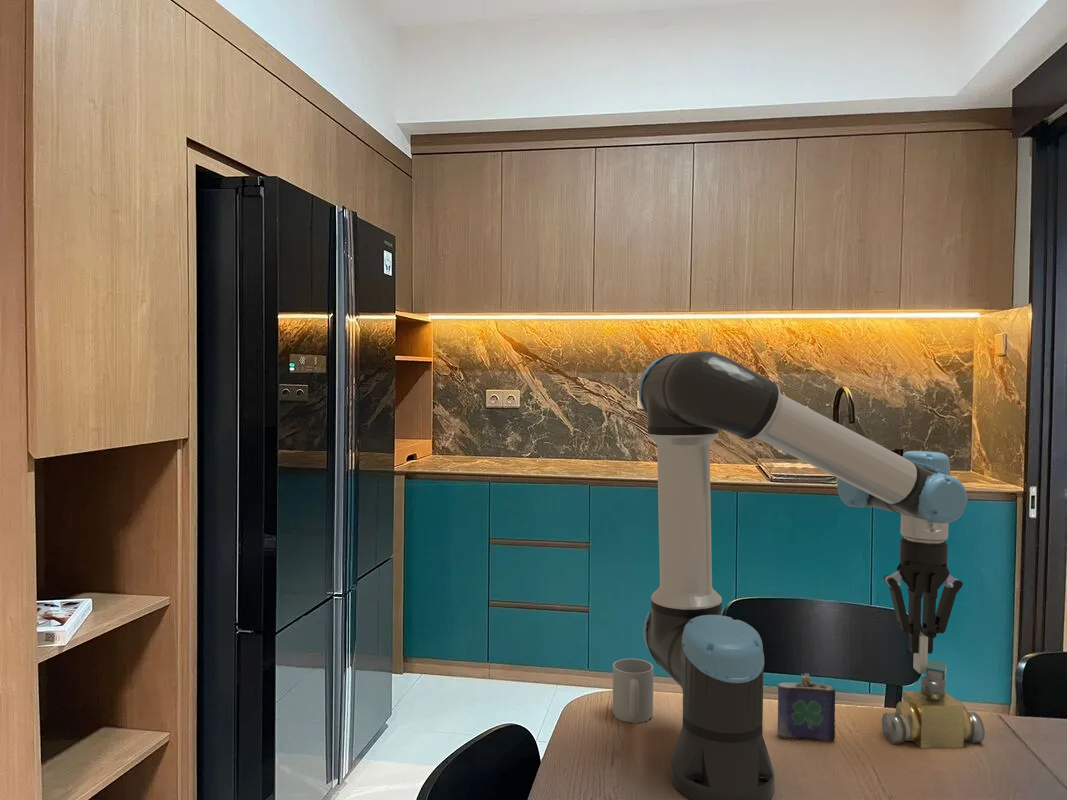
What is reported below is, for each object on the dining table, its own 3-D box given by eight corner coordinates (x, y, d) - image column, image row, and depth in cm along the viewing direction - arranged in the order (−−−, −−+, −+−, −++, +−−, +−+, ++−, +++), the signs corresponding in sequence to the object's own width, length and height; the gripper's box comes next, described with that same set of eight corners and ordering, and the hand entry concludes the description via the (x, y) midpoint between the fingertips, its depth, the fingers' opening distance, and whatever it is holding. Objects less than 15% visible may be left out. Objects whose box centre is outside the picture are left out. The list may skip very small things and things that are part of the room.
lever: (944, 700, 125) (944, 685, 125) (919, 696, 127) (919, 681, 127) (948, 677, 135) (949, 663, 135) (926, 673, 137) (926, 659, 137)
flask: (778, 739, 128) (779, 676, 127) (776, 731, 130) (776, 669, 130) (836, 744, 126) (837, 680, 126) (832, 736, 129) (833, 673, 129)
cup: (651, 707, 140) (651, 659, 140) (655, 731, 130) (655, 680, 130) (612, 705, 141) (612, 658, 141) (613, 730, 131) (613, 678, 131)
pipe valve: (897, 750, 124) (898, 703, 124) (880, 733, 130) (880, 688, 130) (986, 750, 125) (987, 703, 125) (965, 733, 131) (966, 688, 131)
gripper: (894, 542, 131) (890, 677, 132) (972, 544, 130) (967, 680, 131) (878, 533, 139) (875, 661, 139) (951, 535, 138) (948, 664, 138)
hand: (920, 670), depth 135 cm, fingers closed
